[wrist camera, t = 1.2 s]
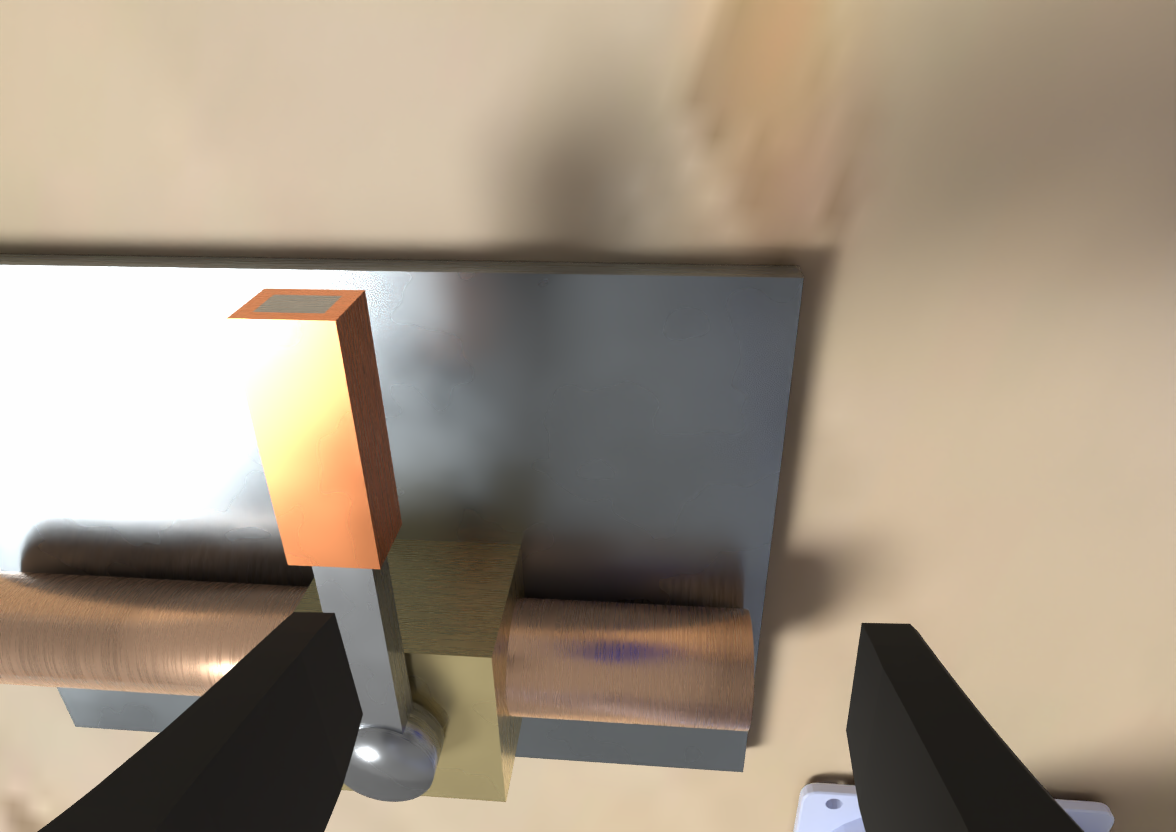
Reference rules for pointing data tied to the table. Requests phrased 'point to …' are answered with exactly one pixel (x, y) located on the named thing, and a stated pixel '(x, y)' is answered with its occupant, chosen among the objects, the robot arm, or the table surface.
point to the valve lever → (338, 506)
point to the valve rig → (411, 494)
